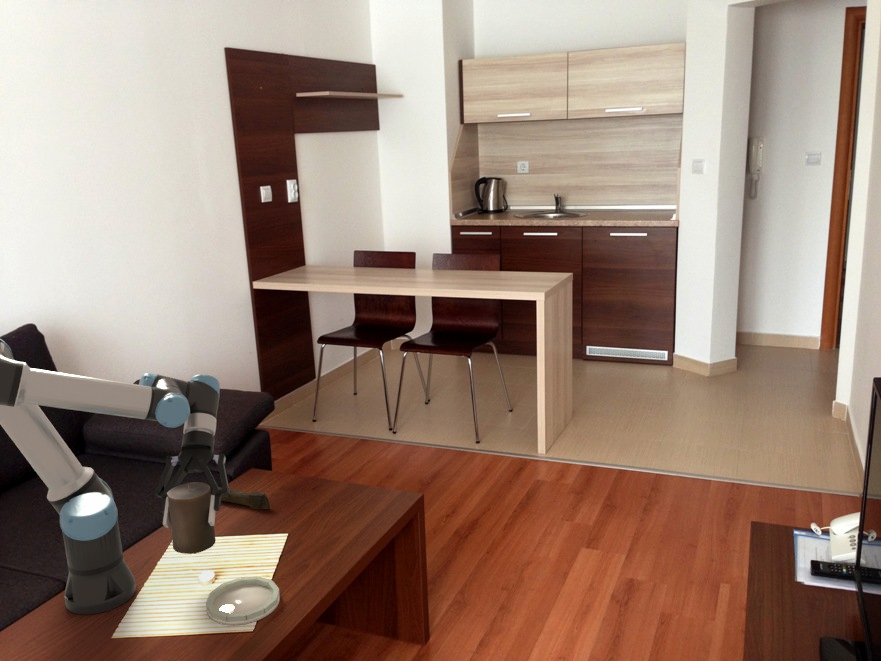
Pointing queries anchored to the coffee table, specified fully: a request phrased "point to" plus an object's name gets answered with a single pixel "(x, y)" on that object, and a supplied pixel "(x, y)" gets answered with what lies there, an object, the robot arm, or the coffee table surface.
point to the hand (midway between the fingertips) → (188, 525)
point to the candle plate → (243, 600)
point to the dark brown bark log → (247, 499)
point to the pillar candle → (190, 517)
